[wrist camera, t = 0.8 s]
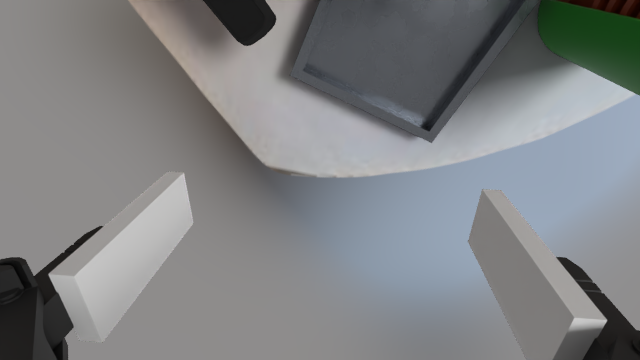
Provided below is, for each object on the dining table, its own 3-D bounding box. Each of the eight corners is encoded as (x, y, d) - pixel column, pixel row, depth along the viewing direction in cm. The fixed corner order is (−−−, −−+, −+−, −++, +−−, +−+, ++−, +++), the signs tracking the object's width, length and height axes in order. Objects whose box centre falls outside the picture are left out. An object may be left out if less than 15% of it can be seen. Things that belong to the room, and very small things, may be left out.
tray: (371, -126, 27) (373, -132, 24) (540, -22, 29) (554, -20, 27) (293, 68, 36) (289, 75, 34) (427, 132, 39) (431, 142, 37)
